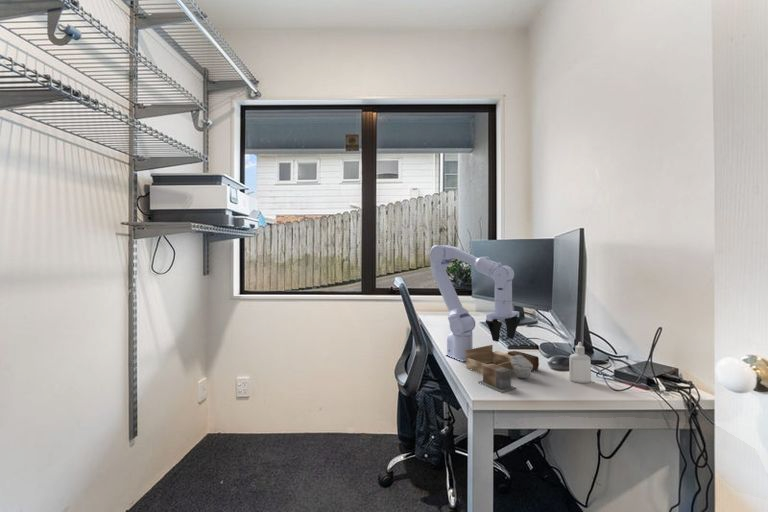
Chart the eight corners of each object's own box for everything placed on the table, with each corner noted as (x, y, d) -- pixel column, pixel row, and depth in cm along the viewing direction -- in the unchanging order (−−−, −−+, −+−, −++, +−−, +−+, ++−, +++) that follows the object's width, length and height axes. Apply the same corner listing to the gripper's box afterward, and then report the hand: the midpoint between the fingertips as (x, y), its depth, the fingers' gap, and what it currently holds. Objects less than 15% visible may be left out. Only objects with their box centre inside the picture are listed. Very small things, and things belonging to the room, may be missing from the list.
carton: (465, 367, 116) (465, 350, 116) (496, 360, 124) (496, 343, 124) (491, 377, 107) (491, 359, 107) (523, 369, 115) (523, 351, 115)
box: (482, 382, 103) (482, 365, 103) (492, 379, 105) (492, 363, 105) (501, 389, 97) (501, 372, 97) (510, 387, 99) (510, 369, 99)
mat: (478, 382, 103) (478, 381, 103) (491, 378, 106) (491, 377, 106) (502, 392, 95) (502, 391, 95) (516, 388, 98) (516, 387, 98)
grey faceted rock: (515, 372, 112) (515, 351, 112) (536, 377, 107) (536, 355, 107) (506, 377, 107) (506, 355, 107) (528, 383, 102) (528, 360, 102)
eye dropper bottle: (589, 385, 100) (589, 345, 100) (568, 381, 104) (568, 342, 104) (591, 381, 104) (591, 342, 104) (571, 377, 107) (570, 339, 107)
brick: (539, 370, 114) (539, 356, 114) (531, 372, 112) (531, 358, 112) (512, 361, 123) (512, 349, 123) (505, 363, 121) (505, 350, 121)
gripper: (497, 303, 110) (498, 345, 110) (526, 300, 117) (526, 339, 118) (481, 301, 116) (481, 340, 116) (509, 298, 124) (510, 335, 124)
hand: (503, 339), depth 117 cm, fingers open, 7 cm apart
